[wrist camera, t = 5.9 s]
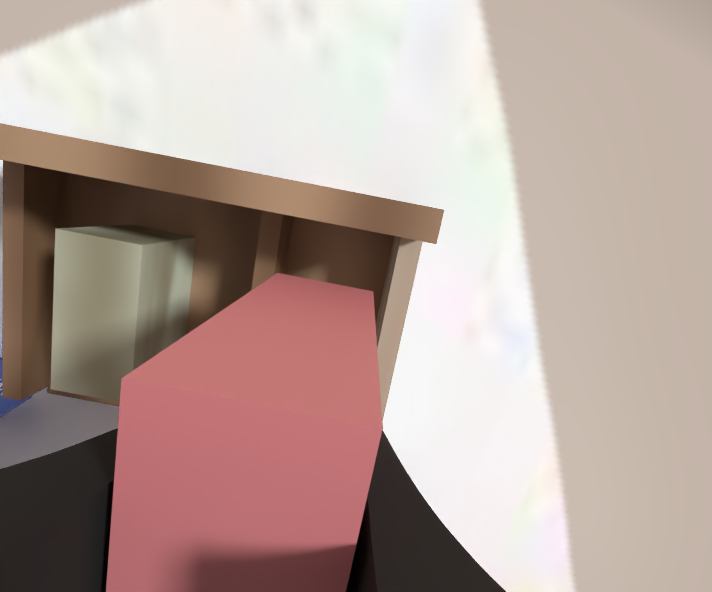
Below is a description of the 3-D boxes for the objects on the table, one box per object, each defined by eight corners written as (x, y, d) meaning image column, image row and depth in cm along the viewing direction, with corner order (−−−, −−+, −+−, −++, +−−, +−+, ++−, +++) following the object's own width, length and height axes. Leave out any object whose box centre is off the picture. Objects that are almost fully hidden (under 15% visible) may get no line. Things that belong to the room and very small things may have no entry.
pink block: (247, 470, 14) (90, 811, 6) (277, 272, 12) (121, 378, 5) (333, 486, 14) (288, 845, 6) (373, 291, 12) (383, 427, 5)
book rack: (59, 385, 21) (-88, 469, 14) (68, 142, 18) (-106, 102, 11) (365, 443, 21) (364, 552, 14) (416, 210, 18) (444, 210, 12)
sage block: (121, 349, 19) (50, 389, 15) (130, 224, 18) (55, 228, 14) (183, 361, 19) (130, 404, 15) (196, 237, 18) (142, 245, 14)
